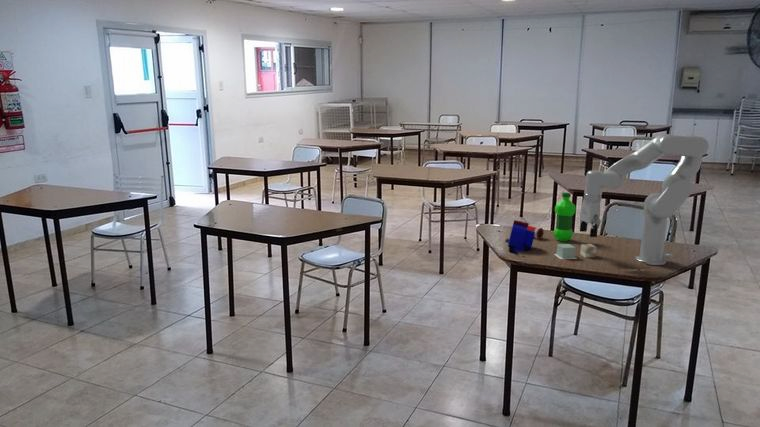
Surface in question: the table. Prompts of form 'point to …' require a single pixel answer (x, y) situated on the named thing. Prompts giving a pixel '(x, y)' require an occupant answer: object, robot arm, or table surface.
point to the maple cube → (588, 250)
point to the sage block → (565, 251)
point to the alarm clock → (520, 237)
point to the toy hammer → (538, 232)
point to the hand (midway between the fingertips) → (588, 234)
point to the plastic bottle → (564, 218)
